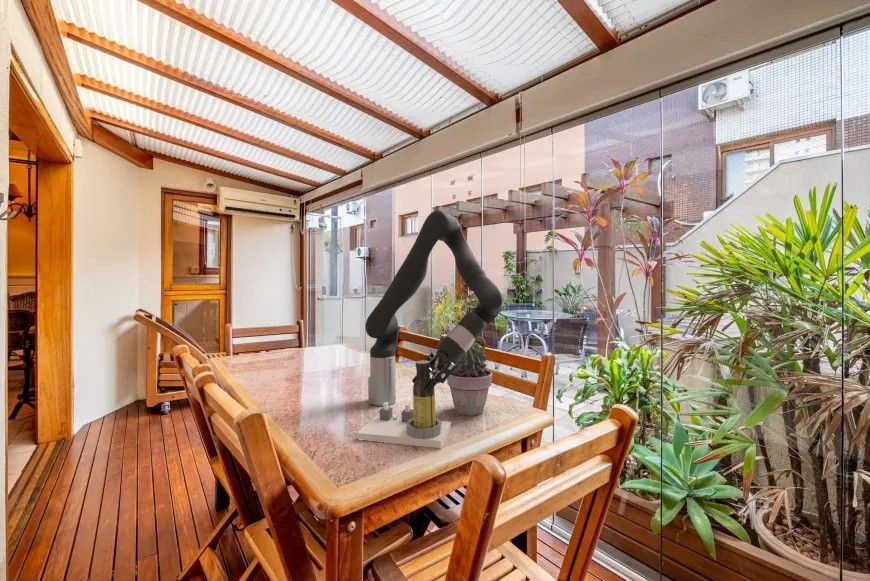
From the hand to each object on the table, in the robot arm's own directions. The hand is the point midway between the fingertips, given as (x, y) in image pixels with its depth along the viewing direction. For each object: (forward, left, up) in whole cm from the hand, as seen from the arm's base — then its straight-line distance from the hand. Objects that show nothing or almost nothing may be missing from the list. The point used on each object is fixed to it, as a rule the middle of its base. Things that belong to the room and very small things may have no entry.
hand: (419, 387), depth 106 cm
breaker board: (-5, +3, -15) cm, 16 cm away
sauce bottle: (+1, +1, -13) cm, 13 cm away
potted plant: (+10, +26, -15) cm, 31 cm away
